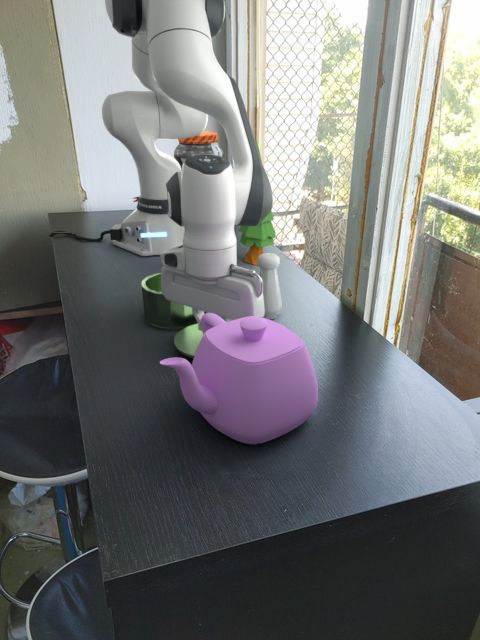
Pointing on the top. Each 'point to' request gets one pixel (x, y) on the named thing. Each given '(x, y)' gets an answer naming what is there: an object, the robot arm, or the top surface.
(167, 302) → the bowl
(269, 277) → the salt shaker
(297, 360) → the teapot
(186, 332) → the lid
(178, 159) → the supplement tub
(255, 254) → the decorative tree
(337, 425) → the top surface
